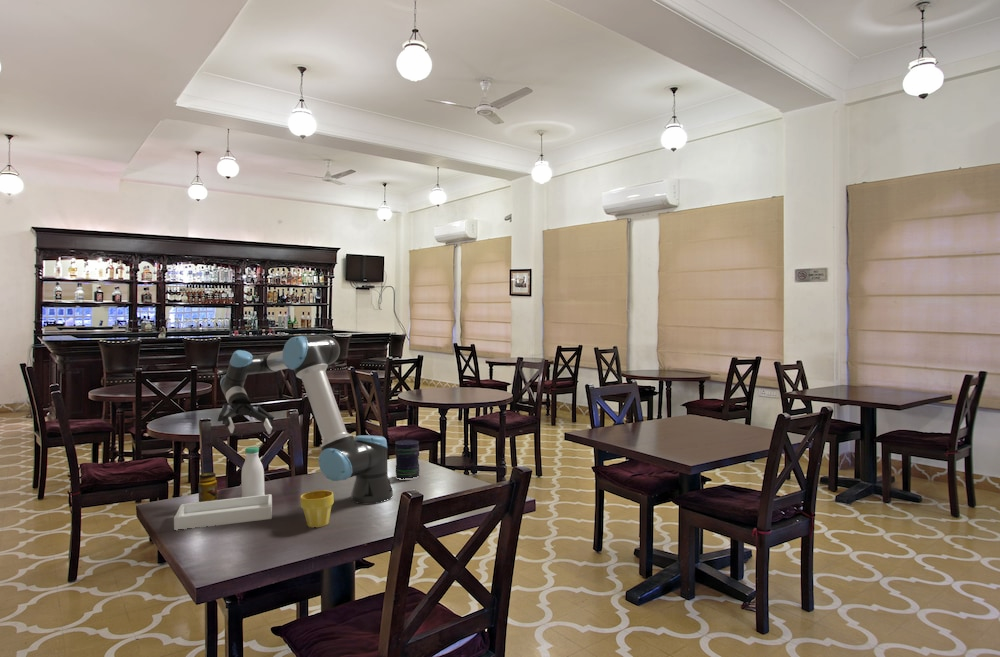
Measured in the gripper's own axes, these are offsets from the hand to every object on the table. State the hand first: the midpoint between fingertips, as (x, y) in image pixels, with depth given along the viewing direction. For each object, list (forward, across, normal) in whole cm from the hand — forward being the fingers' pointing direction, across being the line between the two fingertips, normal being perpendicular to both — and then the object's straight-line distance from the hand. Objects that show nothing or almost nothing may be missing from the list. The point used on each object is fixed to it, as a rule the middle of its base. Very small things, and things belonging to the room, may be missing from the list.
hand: (251, 430), depth 222 cm
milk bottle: (+12, -4, -23) cm, 26 cm away
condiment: (+8, +10, -28) cm, 31 cm away
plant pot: (+47, -11, -4) cm, 49 cm away
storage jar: (+18, -63, -10) cm, 66 cm away
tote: (+22, +9, -20) cm, 31 cm away
